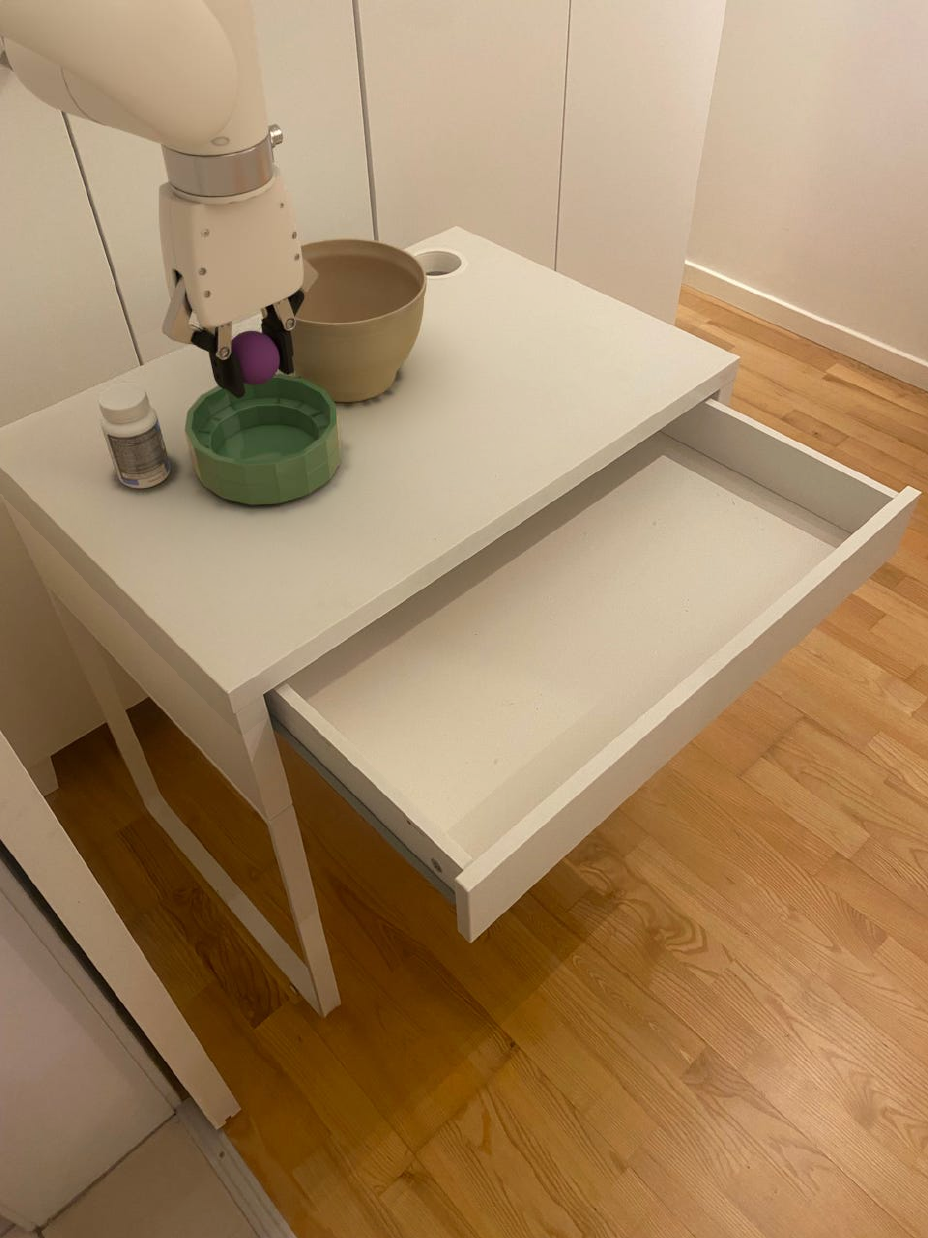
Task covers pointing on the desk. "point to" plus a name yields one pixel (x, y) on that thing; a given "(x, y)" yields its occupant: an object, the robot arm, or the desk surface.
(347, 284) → the planter bowl
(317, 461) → the bowl
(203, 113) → the robot arm
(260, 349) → the ball
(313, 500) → the desk surface
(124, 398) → the pill bottle
